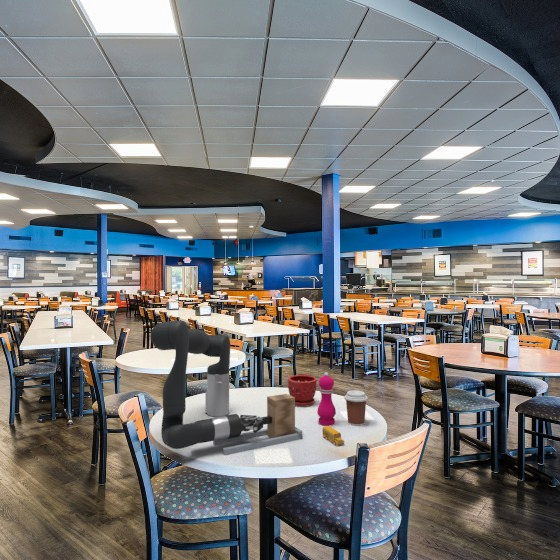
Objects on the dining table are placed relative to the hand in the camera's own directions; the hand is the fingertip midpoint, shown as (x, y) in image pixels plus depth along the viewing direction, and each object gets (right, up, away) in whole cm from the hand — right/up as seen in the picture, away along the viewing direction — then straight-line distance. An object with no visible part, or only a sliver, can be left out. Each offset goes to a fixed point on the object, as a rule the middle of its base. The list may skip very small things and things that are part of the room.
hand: (270, 419), depth 143 cm
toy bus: (+22, -7, -2) cm, 23 cm away
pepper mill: (+22, -7, +17) cm, 28 cm away
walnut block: (+4, -7, +2) cm, 8 cm away
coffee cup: (+33, -7, +17) cm, 38 cm away
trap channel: (-4, -7, -3) cm, 9 cm away
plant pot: (+14, -8, +44) cm, 47 cm away
